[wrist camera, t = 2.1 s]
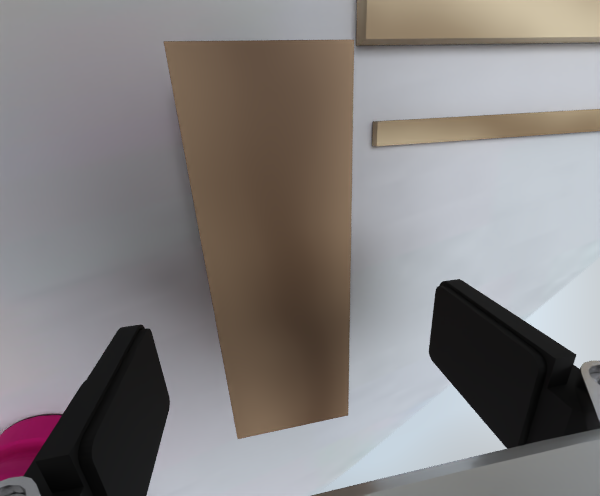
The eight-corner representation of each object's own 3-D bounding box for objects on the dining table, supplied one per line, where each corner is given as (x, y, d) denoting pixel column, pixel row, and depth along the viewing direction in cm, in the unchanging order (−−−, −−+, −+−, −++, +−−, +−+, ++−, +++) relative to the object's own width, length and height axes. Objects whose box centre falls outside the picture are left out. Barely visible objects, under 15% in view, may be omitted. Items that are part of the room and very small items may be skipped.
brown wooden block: (237, 353, 20) (237, 439, 14) (191, 74, 14) (163, 41, 8) (318, 339, 21) (348, 415, 15) (309, 71, 15) (353, 39, 9)
